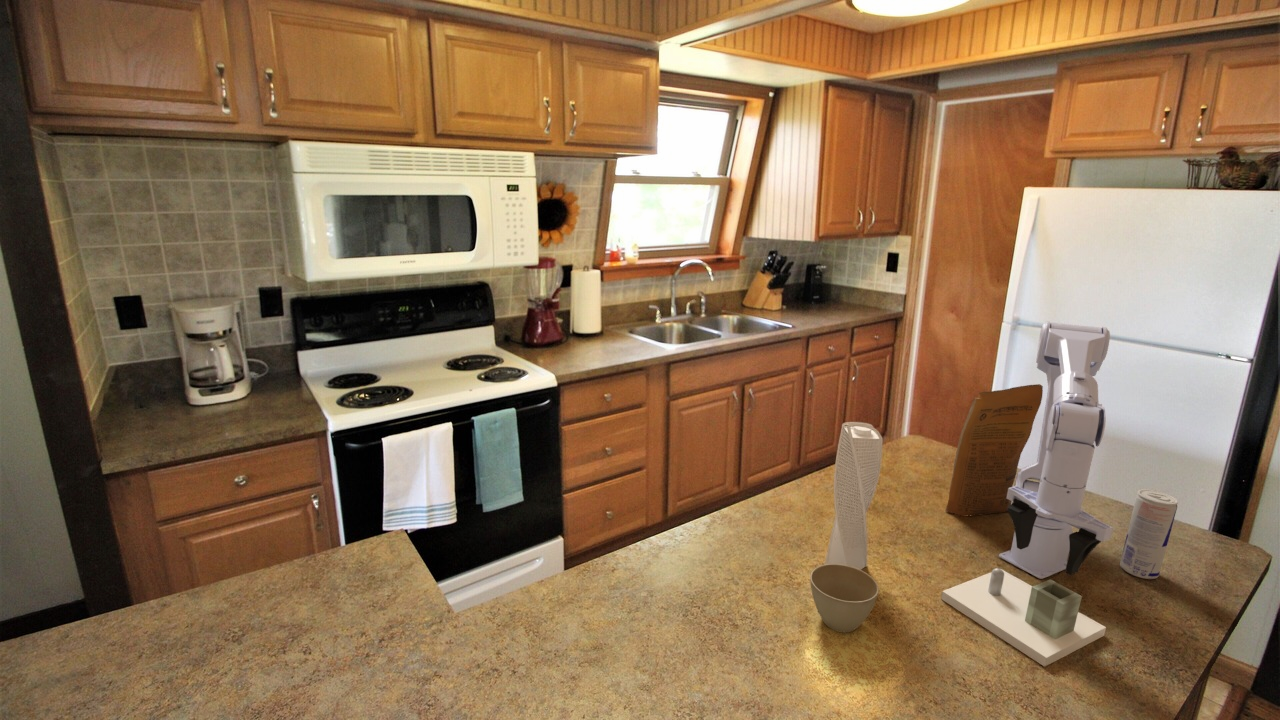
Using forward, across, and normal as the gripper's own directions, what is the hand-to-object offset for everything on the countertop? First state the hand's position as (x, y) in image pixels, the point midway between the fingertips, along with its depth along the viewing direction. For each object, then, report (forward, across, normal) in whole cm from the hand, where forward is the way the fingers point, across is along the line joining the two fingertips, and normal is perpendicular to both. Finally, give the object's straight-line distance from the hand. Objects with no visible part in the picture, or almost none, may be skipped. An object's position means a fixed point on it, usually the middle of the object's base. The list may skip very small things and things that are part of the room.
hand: (1046, 559), depth 99 cm
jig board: (+10, 0, -3) cm, 10 cm away
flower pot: (+10, -12, -30) cm, 34 cm away
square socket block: (+8, +4, -4) cm, 10 cm away
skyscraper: (+10, -23, -18) cm, 31 cm away
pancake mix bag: (+10, -26, +24) cm, 36 cm away
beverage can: (+10, +1, +29) cm, 30 cm away
